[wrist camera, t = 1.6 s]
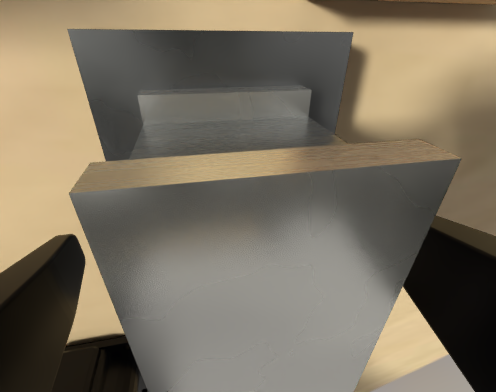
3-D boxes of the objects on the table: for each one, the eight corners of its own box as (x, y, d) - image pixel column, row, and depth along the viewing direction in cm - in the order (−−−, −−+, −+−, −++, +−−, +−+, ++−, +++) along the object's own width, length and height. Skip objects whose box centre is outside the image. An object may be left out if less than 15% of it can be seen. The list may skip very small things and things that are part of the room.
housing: (284, 246, 12) (353, 392, 7) (173, 262, 11) (167, 439, 6) (301, 85, 9) (461, 158, 4) (141, 90, 8) (68, 193, 3)
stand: (296, 239, 15) (310, 265, 13) (148, 259, 14) (144, 291, 12) (324, 32, 10) (353, 32, 8) (89, 29, 8) (67, 29, 7)
